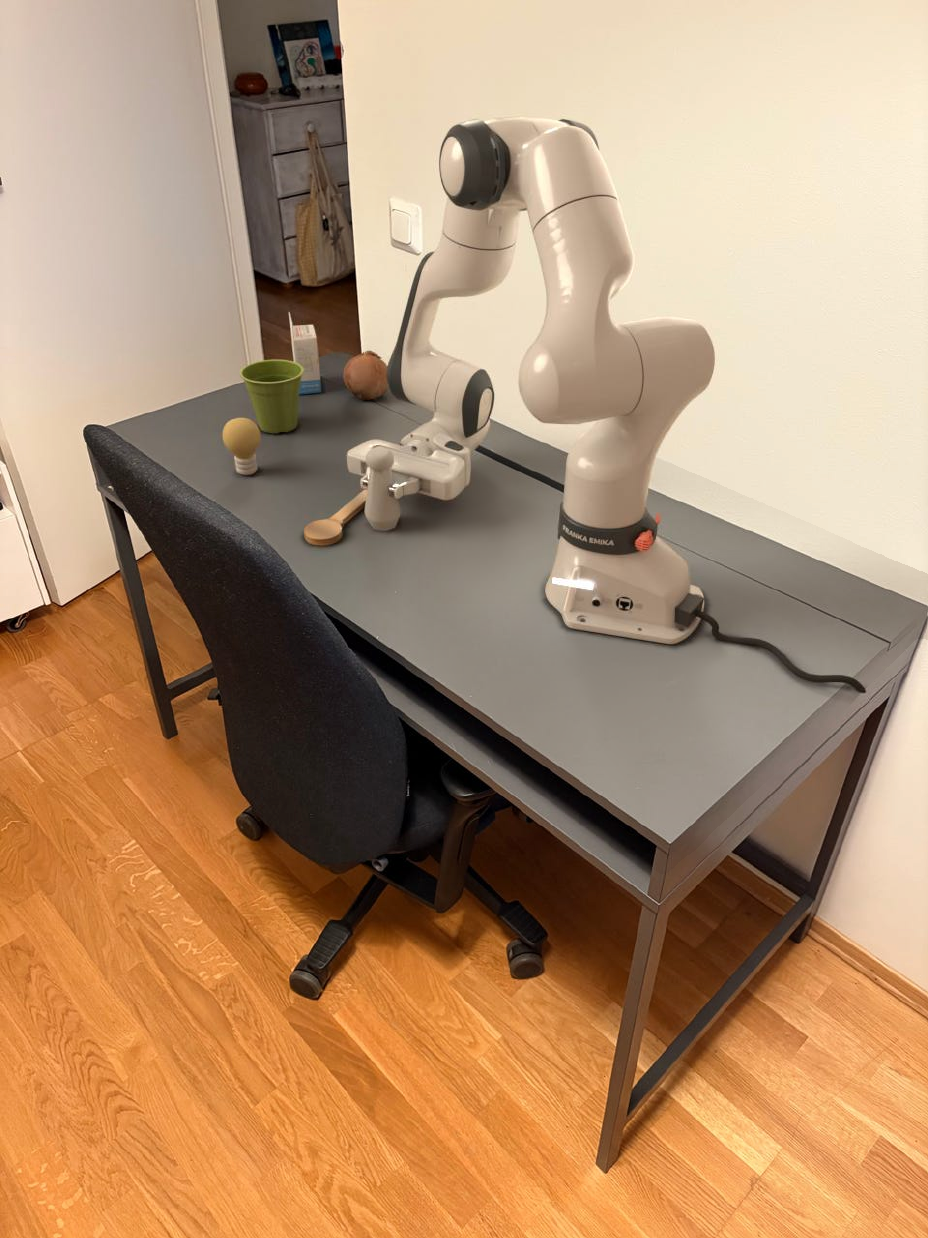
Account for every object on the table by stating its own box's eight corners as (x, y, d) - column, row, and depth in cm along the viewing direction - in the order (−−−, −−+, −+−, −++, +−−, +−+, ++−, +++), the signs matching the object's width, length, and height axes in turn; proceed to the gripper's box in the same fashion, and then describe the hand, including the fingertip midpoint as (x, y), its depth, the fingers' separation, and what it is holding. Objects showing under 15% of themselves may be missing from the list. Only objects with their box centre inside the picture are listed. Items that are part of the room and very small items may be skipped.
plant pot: (304, 440, 172) (298, 383, 165) (242, 439, 172) (233, 382, 166) (314, 413, 182) (308, 358, 175) (254, 413, 182) (246, 358, 175)
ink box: (322, 392, 190) (315, 322, 181) (298, 395, 189) (290, 324, 180) (318, 377, 196) (311, 308, 188) (295, 379, 196) (287, 310, 187)
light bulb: (268, 476, 160) (261, 424, 154) (232, 483, 159) (223, 429, 153) (261, 461, 165) (254, 409, 159) (226, 467, 163) (217, 415, 157)
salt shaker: (396, 535, 145) (392, 461, 137) (361, 531, 146) (355, 458, 138) (405, 517, 149) (402, 444, 141) (371, 513, 150) (366, 441, 142)
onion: (371, 402, 193) (377, 353, 191) (395, 404, 186) (401, 354, 184) (332, 396, 187) (337, 346, 185) (355, 398, 180) (361, 346, 178)
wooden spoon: (369, 480, 159) (368, 474, 159) (399, 487, 157) (398, 481, 157) (297, 540, 144) (296, 533, 143) (329, 549, 142) (328, 542, 141)
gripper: (373, 423, 154) (323, 455, 145) (478, 451, 146) (432, 487, 137) (375, 457, 158) (326, 490, 149) (477, 486, 150) (433, 523, 140)
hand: (378, 489), depth 143 cm, fingers open, 4 cm apart
